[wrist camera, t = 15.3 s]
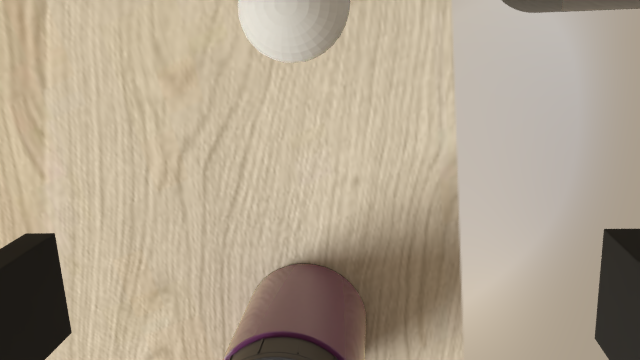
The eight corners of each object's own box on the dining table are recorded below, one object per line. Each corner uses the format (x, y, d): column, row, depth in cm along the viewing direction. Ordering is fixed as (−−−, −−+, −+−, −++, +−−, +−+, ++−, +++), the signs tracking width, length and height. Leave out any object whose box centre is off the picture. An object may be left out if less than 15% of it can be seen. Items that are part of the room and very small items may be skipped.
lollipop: (327, 67, 44) (301, 90, 30) (261, 22, 44) (203, 24, 29) (374, -6, 42) (371, -19, 28) (306, -53, 42) (268, -91, 28)
